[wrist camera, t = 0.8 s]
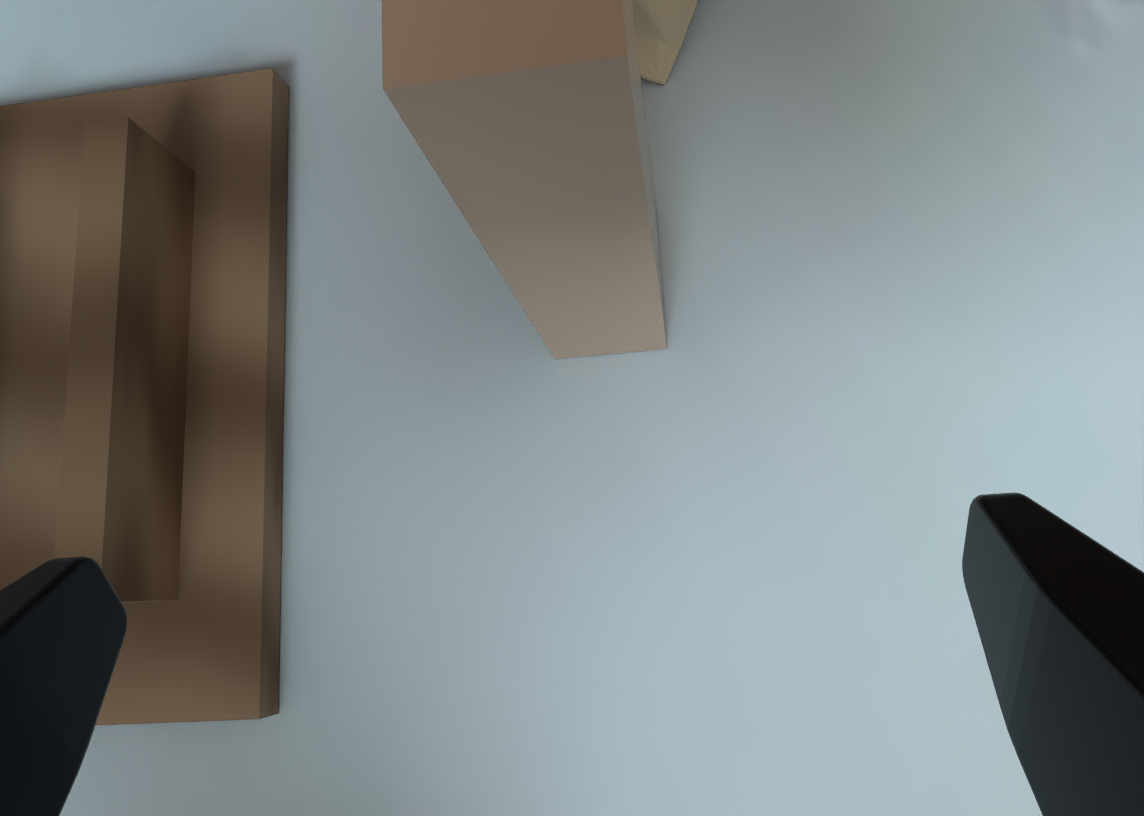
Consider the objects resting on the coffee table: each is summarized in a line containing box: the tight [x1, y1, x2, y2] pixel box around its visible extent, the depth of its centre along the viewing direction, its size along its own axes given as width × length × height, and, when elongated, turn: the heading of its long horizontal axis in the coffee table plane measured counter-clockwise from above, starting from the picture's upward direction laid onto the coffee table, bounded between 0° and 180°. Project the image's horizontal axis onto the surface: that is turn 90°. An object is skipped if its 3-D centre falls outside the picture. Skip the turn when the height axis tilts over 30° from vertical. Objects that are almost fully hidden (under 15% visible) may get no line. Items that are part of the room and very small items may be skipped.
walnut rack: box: [0, 68, 289, 725], centre depth 23 cm, size 18×12×4 cm, turn 3°
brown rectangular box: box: [382, 0, 667, 359], centre depth 17 cm, size 3×4×13 cm
